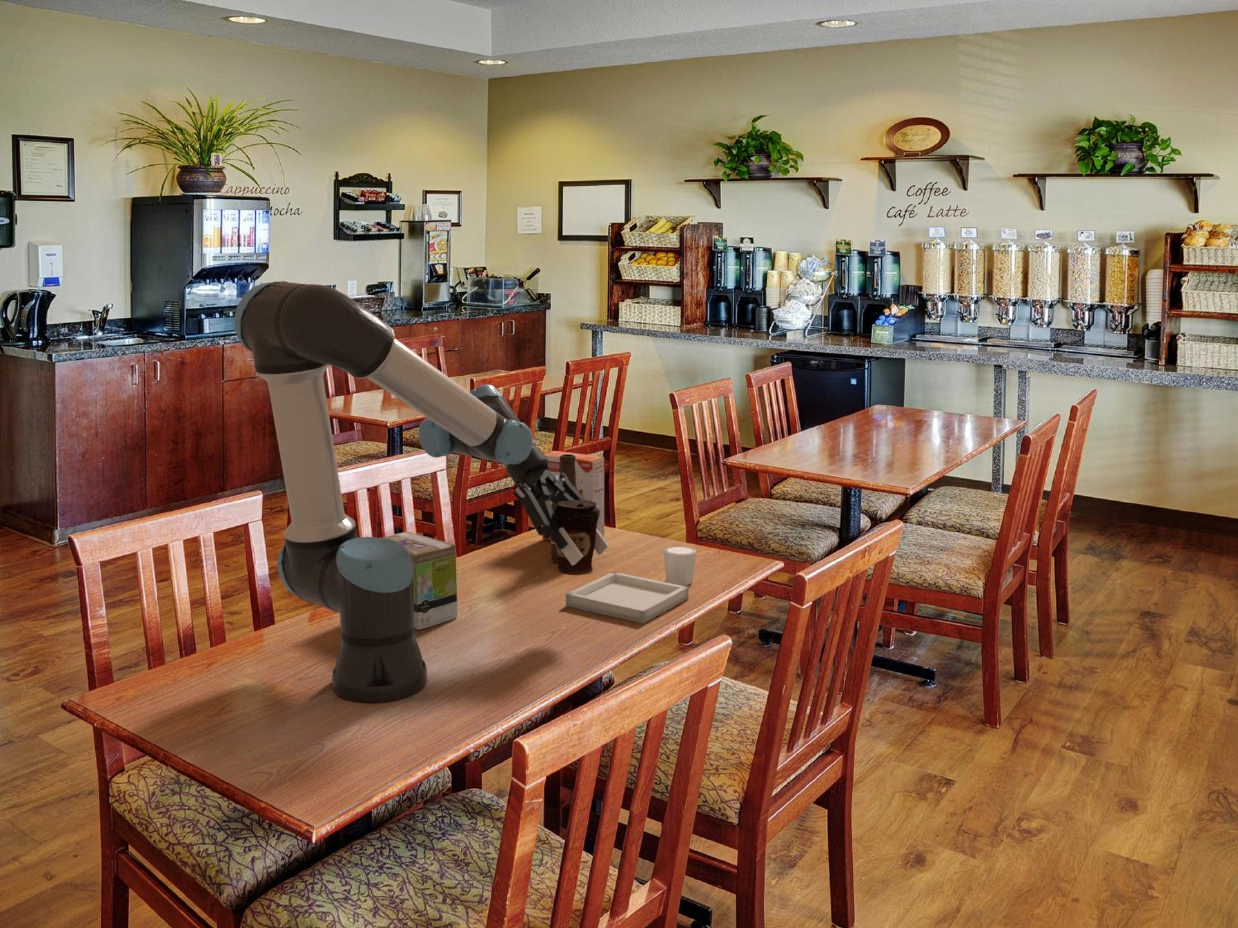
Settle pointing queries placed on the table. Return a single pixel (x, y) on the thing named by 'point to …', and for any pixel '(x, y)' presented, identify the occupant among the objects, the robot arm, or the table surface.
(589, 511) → the coffee cup
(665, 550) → the shot glass
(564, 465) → the beer bottle
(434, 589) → the tea box
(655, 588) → the tray
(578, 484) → the cracker box
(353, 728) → the table surface
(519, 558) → the table surface
